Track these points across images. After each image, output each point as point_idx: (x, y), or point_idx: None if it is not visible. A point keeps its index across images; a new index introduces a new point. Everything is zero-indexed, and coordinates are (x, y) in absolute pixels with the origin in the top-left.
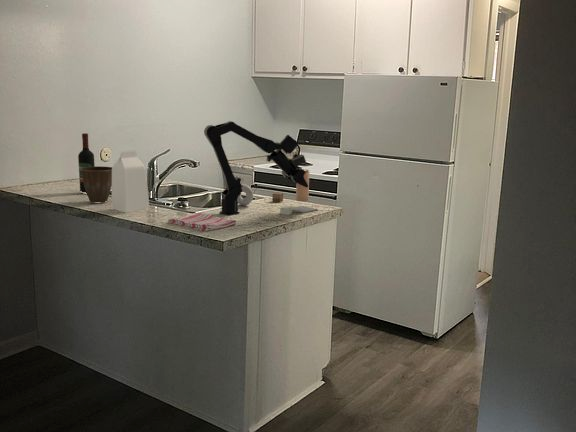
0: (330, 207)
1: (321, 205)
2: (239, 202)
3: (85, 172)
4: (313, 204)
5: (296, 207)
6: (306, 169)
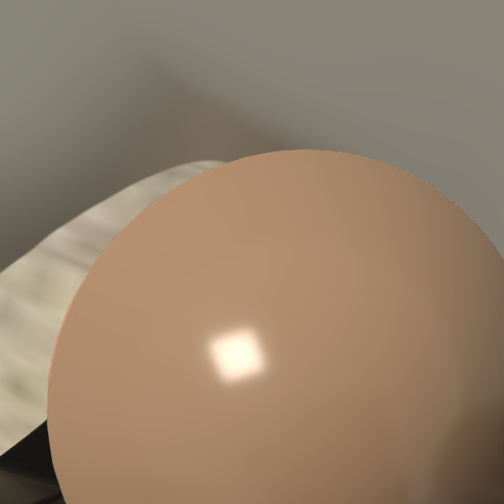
0: (168, 182)
1: (95, 210)
2: None
3: None
4: (52, 246)
5: None
6: (205, 179)
